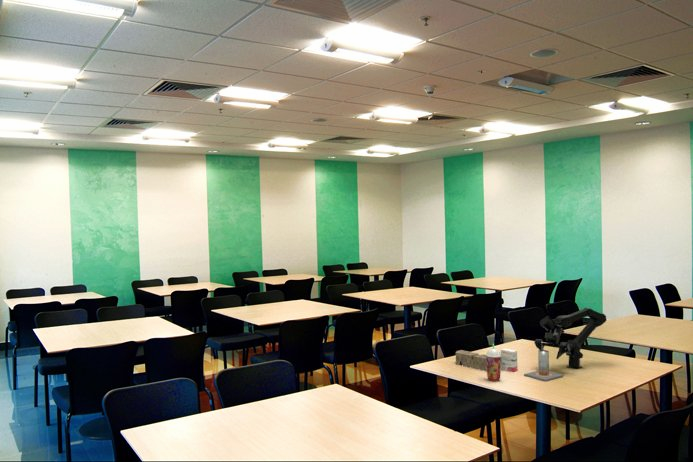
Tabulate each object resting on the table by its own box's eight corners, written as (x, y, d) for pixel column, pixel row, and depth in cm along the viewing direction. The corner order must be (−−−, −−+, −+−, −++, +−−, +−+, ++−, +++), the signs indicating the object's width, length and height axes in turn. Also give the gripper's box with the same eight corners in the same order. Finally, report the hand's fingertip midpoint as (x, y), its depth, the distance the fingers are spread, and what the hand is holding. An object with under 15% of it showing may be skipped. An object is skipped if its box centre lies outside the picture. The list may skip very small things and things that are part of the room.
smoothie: (502, 378, 291) (502, 342, 291) (500, 382, 283) (499, 345, 283) (487, 377, 294) (486, 341, 294) (484, 381, 287) (484, 344, 287)
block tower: (454, 365, 325) (494, 373, 302) (453, 351, 325) (493, 358, 303) (462, 363, 330) (502, 370, 308) (461, 349, 330) (501, 356, 308)
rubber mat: (542, 371, 305) (542, 369, 305) (563, 376, 293) (563, 374, 293) (524, 375, 296) (523, 373, 296) (545, 381, 284) (545, 379, 284)
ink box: (518, 370, 307) (517, 350, 307) (513, 372, 304) (512, 351, 304) (505, 367, 313) (505, 348, 314) (500, 369, 310) (500, 349, 310)
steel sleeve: (542, 372, 298) (542, 349, 298) (551, 374, 294) (550, 351, 294) (536, 374, 295) (536, 350, 295) (544, 376, 291) (544, 352, 291)
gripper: (535, 325, 310) (528, 347, 302) (567, 328, 298) (561, 351, 290) (540, 336, 316) (533, 358, 308) (572, 340, 304) (566, 363, 296)
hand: (548, 357), depth 300 cm, fingers open, 9 cm apart
